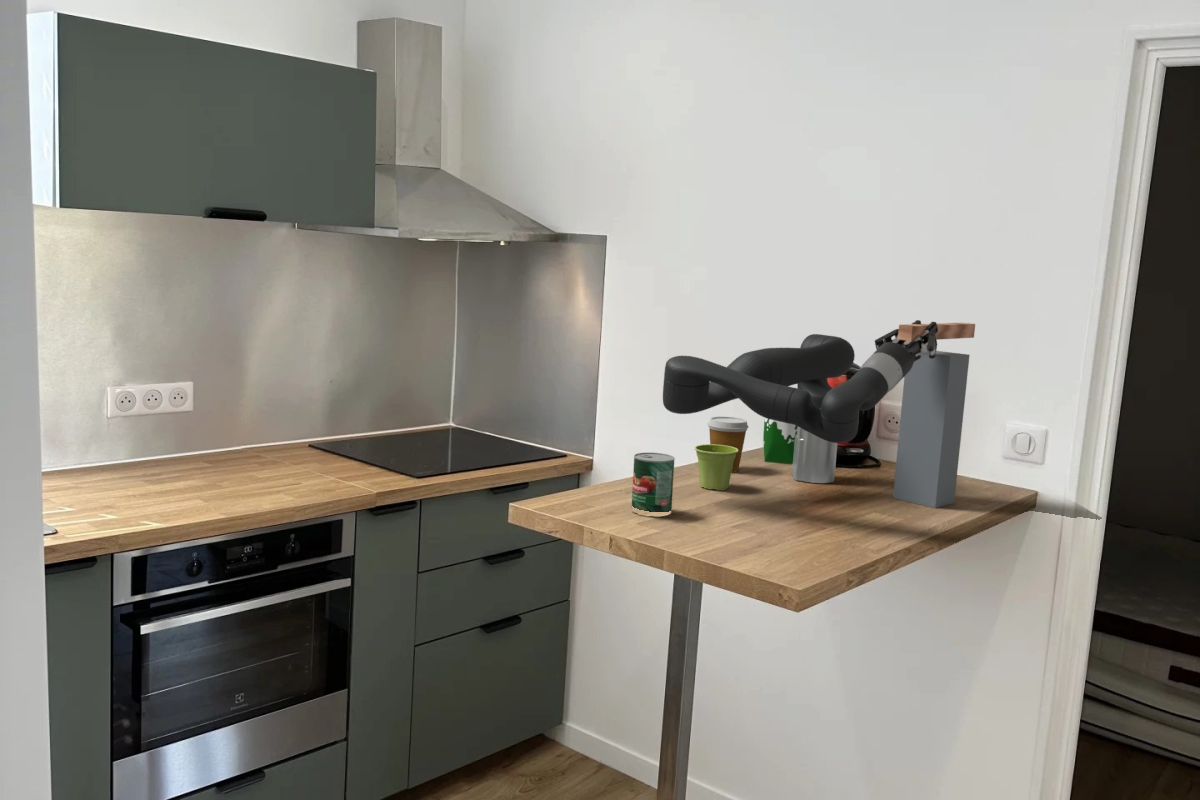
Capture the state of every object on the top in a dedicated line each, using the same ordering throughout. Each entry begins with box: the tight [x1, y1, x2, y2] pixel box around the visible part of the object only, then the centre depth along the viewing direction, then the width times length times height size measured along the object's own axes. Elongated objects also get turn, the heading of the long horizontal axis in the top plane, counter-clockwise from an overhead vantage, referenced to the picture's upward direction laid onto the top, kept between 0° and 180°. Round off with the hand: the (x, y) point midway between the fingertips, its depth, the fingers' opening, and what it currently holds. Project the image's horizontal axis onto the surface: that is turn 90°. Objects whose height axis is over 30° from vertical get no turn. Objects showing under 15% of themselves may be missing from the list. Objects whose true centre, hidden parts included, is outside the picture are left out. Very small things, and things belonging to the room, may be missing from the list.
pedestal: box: [892, 350, 971, 509], centre depth 220 cm, size 8×10×32 cm
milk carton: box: [762, 417, 798, 465], centre depth 257 cm, size 9×9×20 cm
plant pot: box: [694, 443, 738, 491], centre depth 224 cm, size 9×9×9 cm
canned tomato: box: [631, 451, 676, 512], centre depth 201 cm, size 8×8×11 cm
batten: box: [898, 322, 976, 341], centre depth 217 cm, size 26×3×3 cm, turn 133°
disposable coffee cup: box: [707, 416, 749, 474], centre depth 243 cm, size 10×10×12 cm
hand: (927, 324), depth 213 cm, fingers closed on batten, 3 cm apart
